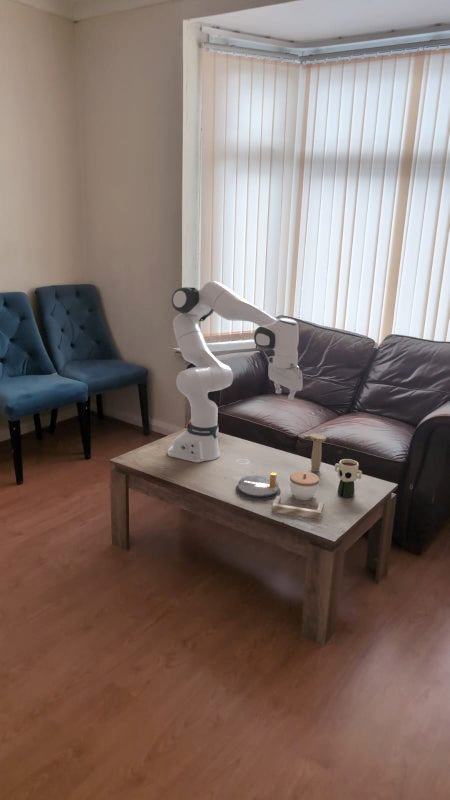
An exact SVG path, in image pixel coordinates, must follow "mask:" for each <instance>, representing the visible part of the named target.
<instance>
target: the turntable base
mask: <svg viewBox="0 0 450 800" xmlns="http://www.w3.org/2000/svg"><path fill="white" fill-rule="evenodd" d="M235 493H236V494H237V495H238V496H240V497H241V498H244V499H245V500H246V499H247V500H250V501H256V502H257V501H260V502H262V501H264V502H265V501H272V500H275V499H276V497H277V496H281V493H282V490H281V488H280V487H279V486H278V492H277V493H276V494H275V495H273V496H271V497H266V498H255V497H250V496H246V495H244V494H242V493H241V492H240V491H239V490H238V484H236V486H235Z"/></svg>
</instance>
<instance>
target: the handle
mask: <svg viewBox="0 0 450 800" xmlns="http://www.w3.org/2000/svg"><path fill="white" fill-rule="evenodd" d="M309 438H310V440H312V441H313V445H312V451H311V456H310V457H311V460H310V464H311V467H310V469H311V471H312V473H313V472H314V473H315V472H316V473H318V472H320V470H321V468H320V467H321V463H322V447H323V446H322V445H323V444H322V443H324V442H325V441H326V440H327V436H326V435H325V434H324V435H323V434H319V433H311V434H310V435H309Z"/></svg>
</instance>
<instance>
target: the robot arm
mask: <svg viewBox="0 0 450 800" xmlns="http://www.w3.org/2000/svg"><path fill="white" fill-rule="evenodd" d="M171 305H172V307H173V308H174V310H176V311H177V312H179V313H178V314H177V315H176V316H175V317H174V319H173V320H172V327H173V328H172V329H173V333H174V337H175V340H176V343H177V345H178V348H179V349H180V353H181V355H182V358H183V359H184V361H186V362H188V363H190V364H193V365H194V367H190V368H189V367H188V368H187V369H184V370H182V371H179V372H178V374H177V377H176V387H177V389H178V391H179V392H180V393H181V394H182V395H184V396H185V397H186V398H187V400H188V402H189V405H190V414H191V415H190V416H191V417H190V420H188V423H186V425H185V429H186V430H185V431H183V432H181V433H180V434H179V435H177V436H176V437H175V438H174V440H173V444H172V445H171V446H170V447H169V448H168V449H167V457H173V458H176V459H179V460H183V461H188V462H193V463H202V462H205V461H206V462H207V461H208V462H209V461H213V460H215V459H218V458H219V457H220V456H221V452H220V448H219V442H218V438H219V437H218V436H219V423H218V413H219V412H218V411H219V409H218V405H217V404H216V402H215V401H213V400H211V399H209V397H208V396H209V395H208V394H209V393H210V392H216V391H222V390H224V389H226V388H229V387H230V386H231V385H232V384H233V381H234V373H233V370H232V368H231V367H230V366H229V365H227V364H225V363H223V362H222V361H220V360H219V358H217V357H216V356H215V355H214V354H213V353H212V351H211V350H210V349H209V347H208V343H206V340H205V337H204V334H203V333H202V330H201V328H200V322H204V321H206V319H207V318H208V317H210V316H211V315H212V314H213V313H215V314H217V315H218V316H220V317H221V318H223V319H225V320H226V321H231V322H233V321H235V322H236V321H242V322H251V323H252V324H255V325H257V326H258V327H257V328H256V329H255V331H254V334H253V340H254V344H255V346H256V347H257V348H258V349H260V350H261V351H270V350H272V351H274V355H271V356H269V357H268V358H267V361H268V373H267V374H268V378H269V380H270V381H272V382H273V385H274V388H275V393H276V394H282V388H281V386H283V387H285V388H287V389H288V390H289V394H288V395H287V400H290V401H294V400H295V395H296V393H297V392H300V391H302V390H303V385H304V383H303V372H302V370H301V369H300V367H299V366H298V364H299V362H298V359H299V352H298V346H299V342H300V340H299V339H300V329H299V325H298V322H297V321H296V320H294V319H293V318H287V317H280V318H276V317H275V316H273V315H272V314H270V313H268V312H267V311H266V310H264V309H263V308H261V307H259V306H257V305H255V304H254V303H252V302H250V301H248V300H246V299H245V298H243V297H242V296H240V295H239V294H238V293H236V292H235V291H234V290H232V289H231V288H229V287H228V286H226V285H225V284H223V283H221V282H220V281H217V280H210V281H208V282H206V283H205V284H204V285H203V286H202V288H200V289H198V288H197V287H192V286H191V287H190V286H186V287H179V288H177V289H175V290H174V292H173V294H172V296H171Z"/></svg>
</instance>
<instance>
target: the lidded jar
mask: <svg viewBox="0 0 450 800" xmlns="http://www.w3.org/2000/svg"><path fill="white" fill-rule="evenodd" d="M319 482H320V477H319V476H318V475H317V474H315V473H313V472H311V471H310V472H309V471H296V472H292V473H291V474H290V475H289V487H290V491H291V493H292V494H293V496H294V497H295V498H296V500H297V499H298V500H300V501H301V500H302V501H308V500H311V499H312V497H314V496H315V494H317V492H318V489H319Z"/></svg>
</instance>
